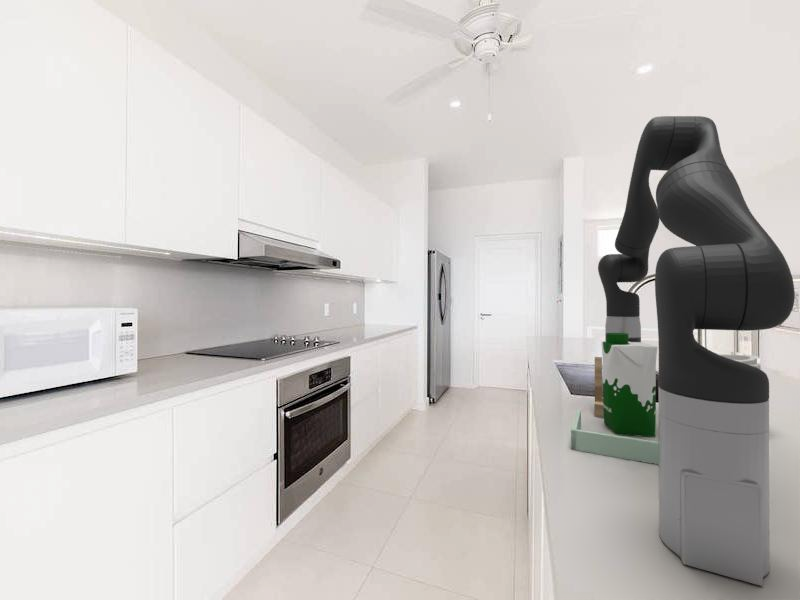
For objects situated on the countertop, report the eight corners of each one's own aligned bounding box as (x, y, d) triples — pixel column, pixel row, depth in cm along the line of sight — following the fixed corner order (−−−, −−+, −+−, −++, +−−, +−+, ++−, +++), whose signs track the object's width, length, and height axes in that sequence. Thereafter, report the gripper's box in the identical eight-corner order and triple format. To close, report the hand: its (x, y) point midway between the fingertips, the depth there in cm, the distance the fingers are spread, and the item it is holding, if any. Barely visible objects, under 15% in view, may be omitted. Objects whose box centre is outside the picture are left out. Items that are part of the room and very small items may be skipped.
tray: (706, 473, 57) (706, 450, 57) (571, 449, 67) (571, 430, 67) (689, 442, 69) (689, 424, 69) (576, 425, 79) (576, 409, 79)
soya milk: (598, 421, 81) (597, 331, 81) (643, 424, 80) (643, 331, 80) (612, 436, 73) (612, 335, 73) (663, 439, 71) (663, 336, 71)
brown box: (646, 423, 80) (646, 364, 80) (594, 416, 85) (594, 360, 85) (643, 414, 86) (643, 359, 86) (595, 408, 91) (595, 356, 91)
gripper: (643, 338, 83) (643, 414, 83) (638, 333, 95) (639, 400, 95) (605, 336, 87) (605, 409, 87) (605, 331, 98) (605, 396, 98)
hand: (623, 404), depth 91 cm, fingers closed
